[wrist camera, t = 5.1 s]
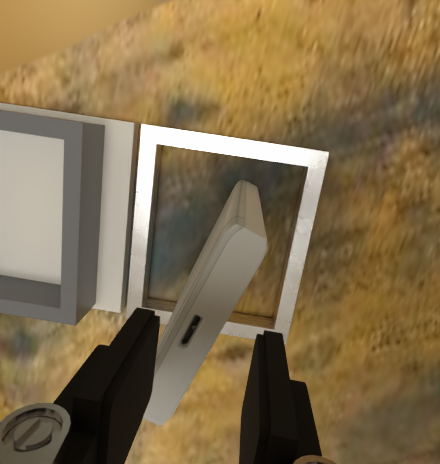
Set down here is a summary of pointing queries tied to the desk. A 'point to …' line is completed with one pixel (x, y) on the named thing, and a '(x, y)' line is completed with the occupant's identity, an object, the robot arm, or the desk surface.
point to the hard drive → (208, 298)
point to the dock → (64, 212)
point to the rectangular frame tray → (308, 158)
